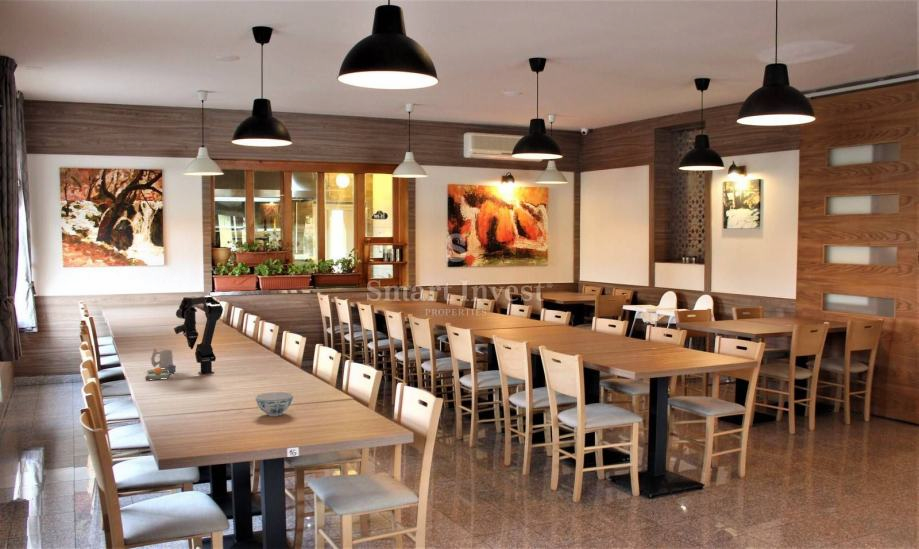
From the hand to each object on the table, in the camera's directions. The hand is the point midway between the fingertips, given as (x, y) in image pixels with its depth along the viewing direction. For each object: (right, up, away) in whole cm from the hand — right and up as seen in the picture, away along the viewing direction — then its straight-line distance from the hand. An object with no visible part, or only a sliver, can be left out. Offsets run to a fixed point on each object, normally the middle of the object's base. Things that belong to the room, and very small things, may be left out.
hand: (190, 348), depth 430 cm
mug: (-18, -12, +6) cm, 22 cm away
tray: (-9, -13, -22) cm, 27 cm away
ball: (-9, -10, -22) cm, 26 cm away
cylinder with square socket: (-8, -13, -8) cm, 17 cm away
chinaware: (+72, -17, -109) cm, 132 cm away
